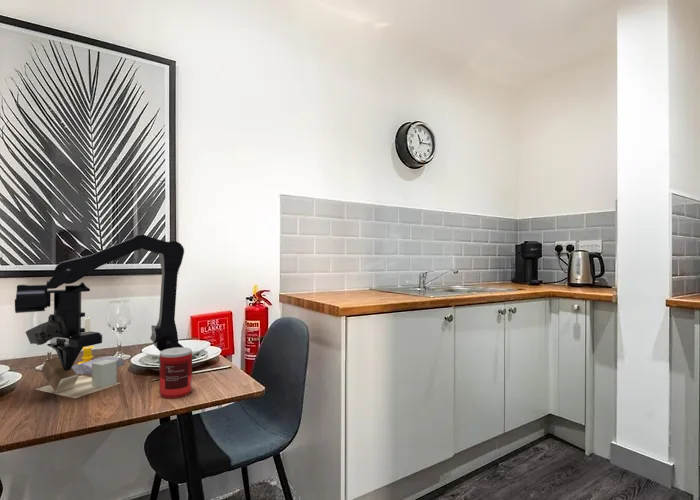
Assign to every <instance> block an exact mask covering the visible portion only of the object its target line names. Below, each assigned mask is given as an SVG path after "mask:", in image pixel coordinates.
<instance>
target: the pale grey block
mask: <svg viewBox="0 0 700 500" xmlns="http://www.w3.org/2000/svg"><path fill="white" fill-rule="evenodd" d="M116 363H117V361H113V360H107V359H106V360H103V361H99V362H95V363H92V375H91V377H92V386H96V387H100V388H103V387H106V386H109V385H112V384H115V383H116V382H117V367H116Z"/></svg>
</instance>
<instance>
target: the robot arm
mask: <svg viewBox="0 0 700 500" xmlns="http://www.w3.org/2000/svg"><path fill="white" fill-rule="evenodd" d="M141 249H142V250H145V251H147V252H150V253H154V254H157V255H158V258H159V264H160V268H161V285H160V286H161V287H160V299H159V314H158V321H157V323H156V325H153V324H152V325H151V328H150V329H151V336H150V337H149V339H150V340H151V341H152V344H153V345H154V347H155V348H156V349H157V350H158V351H159V353H160V352H161V351H163V350H165V349H169V348H178V347H184V346H183V345H182V344H181V343H179V335H178V329H177V325H176V320H175V314H176V301H177V288H178V273H179V270H180V268H181V265H182V262H183V259H184V254H185V248H184V246H183V245H182V244H181V243H180V242H178V241H176V240H175V241H173V240H171V241H170V240H169V241H166V240H165V241H164V240H162V239H158V238H155V237H151V236H147V234H144V233H143V234H142V233H139V234H136V235H134V236H132V237H131V238H129V239H126V240H124V241H122V242H118V243H117V244H114V245H111V246H109V247H106V248H104V249H102V250H99V251H97V252H95V253H93V254H89V255H84V256H79V257H77V258H72V259H69V260H64V261H61V262H60V263H58V264H57V265H56V267H55V268H54V272H53V275H52V277H51V278H50V279H49V280H47V281H46V283H45V284H31V285H30V284H17V286H16V295H15V299H14V312H15V313H16V314H20V313H21V314H23V313H34V312H35V313H37V312H45V310H46V309H47V308H51V301H52V300H51V299H52V298H51V296H52V295H51V294H53V313H51V314H49V316H48V317H47V318H48V319H47V321H46V322H43V323H40V324H39V325H36V326H33V327H32V328H30V329H28V330H26V331H25V334H26V337H27V339H28V342H29V343H30V344H31V345H34V344H35V345H37V346H41V345H44V344H46V346H47V347H49V348H52V349H53V350H55V352H56V354H57V356H58V357H59V359H60V361H61V364H62V366H63V369H64V371H68V370H70V369H71V367H72V366H74V365H75V361H76V360H77V358H78V356H79V354H80V353H81V351H82V350H83V349H82V348H83V347H86V346H94V345H95V346H96V345H98V344H99V345H100V344H102V343H103V334H102V333H100V332H98V331H91V330H90V331H89V332H85V327H82V318H83V317H85V318H86V312H83V311H82V292H84V293H85V292H90V290H91V288H90V287H89V286H87V285H86V284H85V283H84V282H83V281H82V282H80V283H79V284H76V285H75V283H76V282H78V281H79V280H81V279H82V278H84V277H86V276H87V275H89V274H90V273H92V272H93V271H94V270H96V269H98V268H100V267H101V266H104V265H106V264H108V263H111V262H113V261H115V260H117V259H120V258H122V257H125V256H127V255H129V254H132V253H134V252H136V251H138V250H141ZM70 284H71V285H70ZM72 284H73V285H72ZM62 285H65V288H64V289H57V288H59V287H60V286H62ZM48 341H49V343H48V344H47V342H48Z"/></svg>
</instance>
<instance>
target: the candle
mask: <svg viewBox="0 0 700 500" xmlns="http://www.w3.org/2000/svg"><path fill="white" fill-rule="evenodd" d="M84 328H85V332H89V331H91V317H89V316H87V317H85V318H84ZM95 346H96V345H95ZM95 346H94V345H91V346H86V347H83V348H82V350H83V352H82V354H83V355H82V356H81V359H82V361H79V362H78V363H77V365H78V364H81V363H85V362H88V361H90V360H92V359H93V358H94V355H93V353H92V349H94V348H95Z"/></svg>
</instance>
